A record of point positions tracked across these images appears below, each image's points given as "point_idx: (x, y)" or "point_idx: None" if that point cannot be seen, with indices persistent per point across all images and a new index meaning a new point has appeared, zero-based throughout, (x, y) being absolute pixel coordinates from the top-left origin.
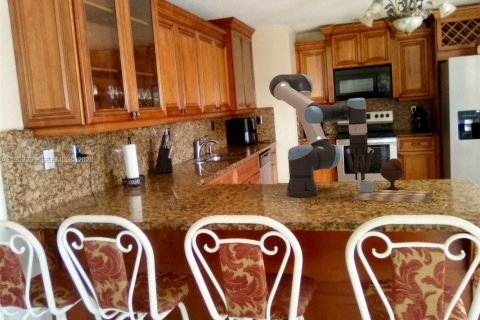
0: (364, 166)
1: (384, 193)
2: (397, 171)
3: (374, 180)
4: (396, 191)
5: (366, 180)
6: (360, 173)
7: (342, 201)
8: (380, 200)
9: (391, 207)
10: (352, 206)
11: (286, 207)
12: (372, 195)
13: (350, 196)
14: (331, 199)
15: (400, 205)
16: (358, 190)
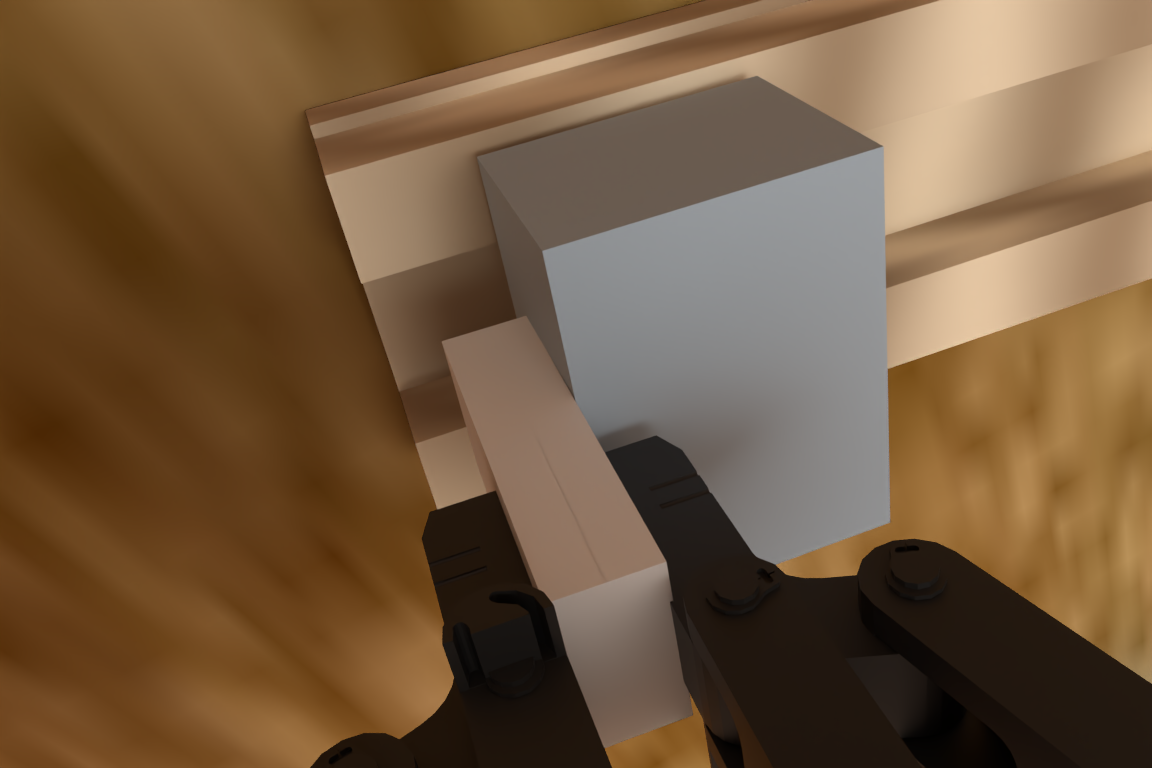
0: (887, 737)
1: (987, 309)
2: None
3: (862, 201)
4: None
5: (646, 298)
6: (686, 714)
7: (314, 649)
8: None
9: (1055, 536)
10: (617, 750)
11: None
12: None
13: (154, 266)
14: (18, 657)
15: (1143, 401)
16: (368, 276)
